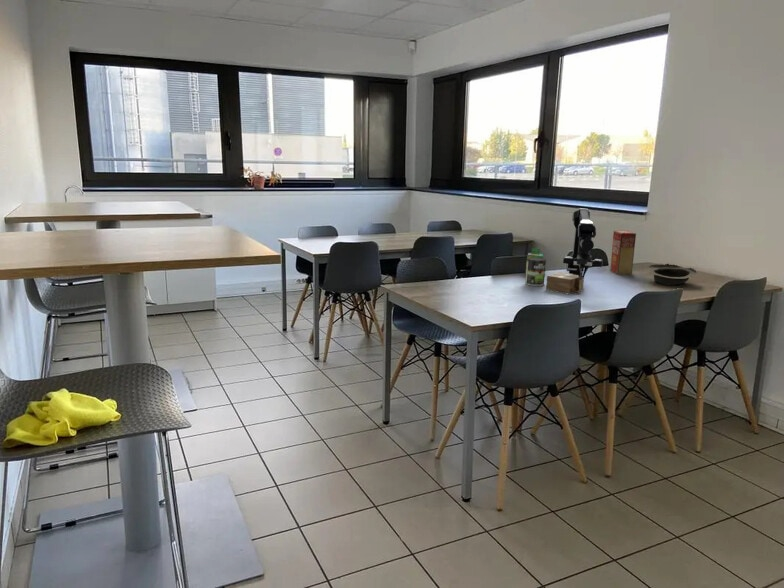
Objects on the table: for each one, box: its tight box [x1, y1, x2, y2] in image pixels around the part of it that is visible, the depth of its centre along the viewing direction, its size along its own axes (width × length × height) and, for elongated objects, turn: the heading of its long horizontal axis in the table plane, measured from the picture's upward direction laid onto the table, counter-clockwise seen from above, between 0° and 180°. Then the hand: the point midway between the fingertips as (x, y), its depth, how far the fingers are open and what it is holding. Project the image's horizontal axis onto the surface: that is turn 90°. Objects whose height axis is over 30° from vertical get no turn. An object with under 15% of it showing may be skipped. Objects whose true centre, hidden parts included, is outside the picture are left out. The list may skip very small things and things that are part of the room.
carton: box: [545, 271, 583, 295], centre depth 302 cm, size 14×13×8 cm
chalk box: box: [525, 247, 544, 267], centre depth 343 cm, size 9×9×15 cm
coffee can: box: [524, 257, 547, 287], centre depth 314 cm, size 10×10×14 cm
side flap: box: [577, 271, 585, 295], centre depth 295 cm, size 14×1×12 cm, turn 154°
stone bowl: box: [647, 263, 697, 286], centre depth 321 cm, size 25×25×9 cm
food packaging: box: [609, 230, 637, 275], centre depth 347 cm, size 13×9×25 cm
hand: (581, 278), depth 291 cm, fingers closed
